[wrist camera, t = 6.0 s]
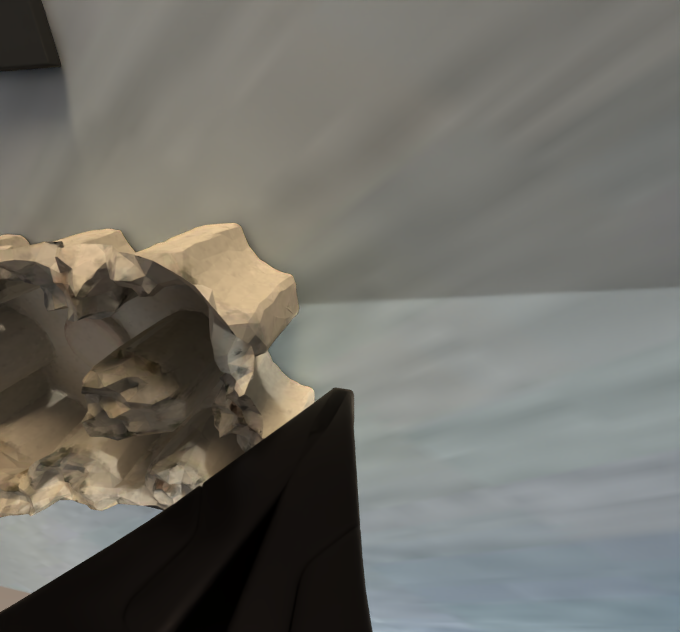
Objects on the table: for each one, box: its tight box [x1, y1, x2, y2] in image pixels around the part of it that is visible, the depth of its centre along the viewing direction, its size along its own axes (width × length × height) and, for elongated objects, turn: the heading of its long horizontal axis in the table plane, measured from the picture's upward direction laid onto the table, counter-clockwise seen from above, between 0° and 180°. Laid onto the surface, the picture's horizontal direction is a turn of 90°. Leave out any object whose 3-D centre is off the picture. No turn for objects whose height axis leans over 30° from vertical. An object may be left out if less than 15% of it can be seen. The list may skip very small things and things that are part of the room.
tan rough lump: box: [0, 223, 314, 517], centre depth 9 cm, size 11×8×4 cm
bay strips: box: [0, 0, 165, 510], centre depth 11 cm, size 7×16×1 cm, turn 1°
